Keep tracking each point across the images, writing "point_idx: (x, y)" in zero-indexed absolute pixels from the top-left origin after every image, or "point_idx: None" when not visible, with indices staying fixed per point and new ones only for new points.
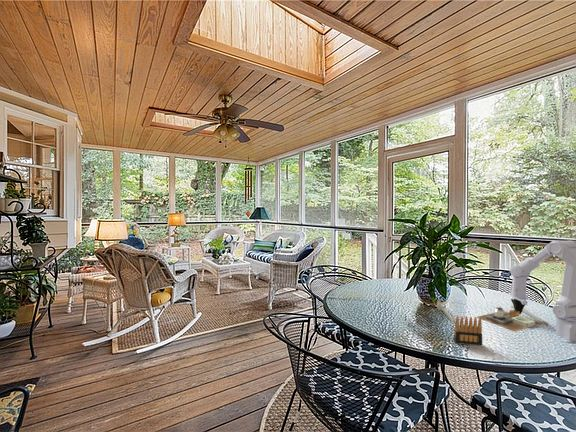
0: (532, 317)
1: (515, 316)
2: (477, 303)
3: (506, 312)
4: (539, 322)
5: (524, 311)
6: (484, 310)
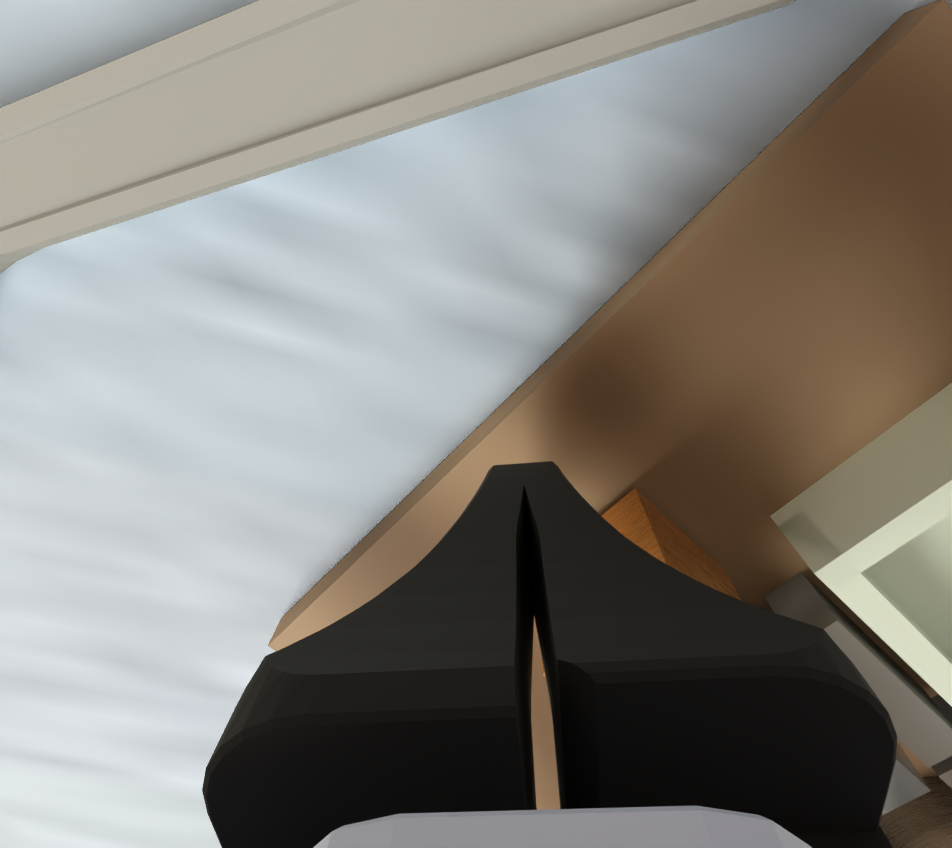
0: (402, 124)
1: (737, 598)
2: (4, 845)
3: None
4: (859, 80)
5: (7, 209)
6: None
